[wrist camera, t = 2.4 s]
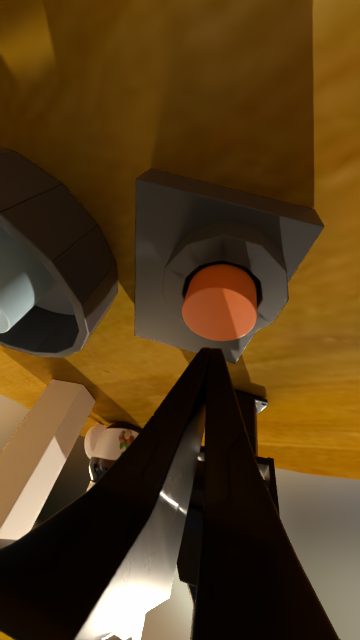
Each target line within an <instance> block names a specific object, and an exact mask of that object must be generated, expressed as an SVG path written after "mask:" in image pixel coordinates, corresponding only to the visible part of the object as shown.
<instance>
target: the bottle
mask: <svg viewBox="0 0 360 640" xmlns="http://www.w3.org/2000/svg"><path fill="white" fill-rule="evenodd" d="M56 284H57V282H56V281H55V279H54V278H53V277H52V275H51V274H50V272H49V271H48V270H47V268H46V267H45V265H44V264H42V263H41V262H40V261H39V260H38V259H37V258H36V257H35V256H33V255H32V254H31V253H30V252H29V251H28V250H27V249H26V248H25V247H23V246H22V245H21V244H20V243H19V242H18V241H17V240H16V239H14V238H13V237H12V236H11V235H10V234H9V233H8V232H7V231H6V230H4V229H3V228H2V227H1V226H0V333H4V332H7V331H8V330H9V329H10V328H11V327H12V326H13V325H14V324H16V323H17V322H18V321H19V320H20V319H21V318H22V317H23V316H24V315H25V314H26V313H27V312H28V311H29V310H30V309H31V308H32V307H33V306H34V305H35V304H36V303H37V302H39V301H40V300H41V299H42V298H43V297H44V296H45V295H46V294H47V293H48V292H49V291H50V290H51V289H52V288H53V287H54V286H55V285H56Z"/></svg>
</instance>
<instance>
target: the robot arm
mask: <svg viewBox="0 0 360 640" xmlns="http://www.w3.org/2000/svg"><path fill="white" fill-rule="evenodd" d="M266 406H268V400H266V399H263V398H260V397H256V396H253V395H249V394H246V393H242V392H239V391H235V390H234V387H233V384H232V381H231V377H230V374H229V371H228V367H227V364H226V361H225V357H224V354H223V351H222V349H221V348H212V349H211V348H210V347H202V348H201V349H200V350H199V352H198V353H197V354H196V356H195V357H194V359H193V360H192V361H191V363H190V364H189V366H188V367H187V368H186V370H185V371H184V372H183V374H182V375H181V377H180V378H179V379H178V381H177V382H176V384H175V385H174V386H173V388H172V389H171V390H170V392H169V393H168V395H167V396H166V397H165V399H164V400H163V402H162V403H161V404H160V406H159V407H158V408H157V410H156V411H155V413H154V416H152V417H151V418H150V419H149V421H148V422H147V424H146V425H145V426H144V428H143V429H142V430H141V432H140V433H139V434H138V435H137V437H136V438H135V439H134V440H133V441H132V443H131V444H130V445H129V446H128V447H127V448H126V450H125V451H124V452H123V453H122V454H121V455H120V456H119V458H118V459H117V460H116V461H115V462H114V463H113V464H112V465H111V467H110V468H109V469H108V470H107V471H106V472H105V473H104V474H103V476H102V477H101V478H100V479H99V480H98V481H97V482H96V483H95V484H94V485H93V486H92V487H91V488H90V489H89V490H88V491H87V492H85V493H84V494H83V495H82V496H80V497H79V498H77V499H76V500H75V501H73V502H72V503H70V504H69V505H68V506H66V507H64V508H63V509H62V510H60V511H59V512H57V513H56V514H54V515H53V516H52V517H50V518H49V519H47V520H46V521H44V522H43V523H41V524H40V525H39V526H37V527H36V528H34V529H33V530H31V531H30V532H28V533H27V534H25V535H24V536H22V537H21V538H20V539H18V540H11V539H0V640H140V639H141V634H142V629H143V625H144V620H145V615H146V612H147V611H149V610H150V609H152V608H154V607H155V606H157V605H158V604H160V603H162V602H163V601H165V600H166V599H168V598H169V596H170V592H171V587H172V583H173V578H174V572H175V568H176V563H177V568H178V573H179V579H180V581H182V582H185V583H187V586H188V589H189V593H190V596H191V600H192V603H193V615H192V626H191V637H190V640H341V639H339V638H338V636H337V634H336V632H335V630H334V628H333V626H332V624H331V622H330V620H329V618H328V616H327V614H326V612H325V610H324V608H323V607H322V605H321V603H320V601H319V599H318V597H317V595H316V593H315V591H314V589H313V587H312V585H311V583H310V581H309V579H308V578H307V576H306V574H305V572H304V570H303V568H302V566H301V563H300V561H299V560H298V557H297V555H296V553H295V551H294V549H293V547H292V545H291V543H290V540H289V538H288V536H287V533H286V531H285V529H284V527H283V524H282V522H281V520H280V516H279V504H278V496H277V486H276V477H275V468H274V459H273V458H269V457H268V458H263V457H258V441H257V414H258V413H259V412H261V411H262V410H263V409H264V408H265V407H266ZM204 428H205V446H201V442H202V438H203V433H204ZM262 476H265V480H264V479H263V477H262Z"/></svg>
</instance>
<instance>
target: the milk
mask: <svg viewBox="0 0 360 640" xmlns="http://www.w3.org/2000/svg"><path fill="white" fill-rule="evenodd" d="M95 402H96V401H95V400H94V398H93V397H92V396H91V394H90V393H89V392H88V390H87V389H86V388H85V386H84V385H82V384H76V383H71V382H65V381H60V380H55V379H52V380H51V381H50V383H49V384H48V386H47V387H46V389H45V390H44V391H43V393H42V394H41V396H40V397H39V398H38V400H37V401H36V403H35V404H34V406H33V407H32V408H31V410H30V411H29V413H28V414H27V416H26V417H25V418H24V420H23V421H22V423H21V424H20V425H19V427H18V428H17V430H16V431H15V433H14V434H13V436H12V437H11V438H10V440H9V441H8V442H7V444H6V445H5V447H4V448H3V450H2V451H1V452H0V539H11V540H18V539H20V538H21V537H22V536H24V535H25V534H27V533H28V532H30V530H31V528H32V526H33V524H34V522H35V520H36V518H37V516H38V514H39V512H40V510H41V508H42V506H43V504H44V503H45V501H46V498H47V497H48V495H49V493H50V491H51V489H52V487H53V485H54V483H55V481H56V479H57V477H58V475H59V473H60V471H61V469H62V467H63V465H64V463H65V461H66V459H67V457H68V455H69V453H70V451H71V449H72V447H73V445H74V443H75V441H76V440H77V438H78V436H79V434H80V432H81V430H82V428H83V426H84V424H85V422H86V420H87V418H88V416H89V414H90V412H91V410H92V408H93V406H94V404H95Z"/></svg>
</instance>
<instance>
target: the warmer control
mask: <svg viewBox="0 0 360 640" xmlns="http://www.w3.org/2000/svg"><path fill="white" fill-rule="evenodd" d="M323 228H324V225H323V223H322V221H321V220H320V218H319V216H318V214H317V213H316V211H315V210H314V209H310V208H306V207H302V206H298V205H294V204H290V203H286V202H282V201H278V200H274V199H270V198H266V197H262V196H258V195H254V194H250V193H246V192H242V191H238V190H234V189H230V188H226V187H222V186H218V185H214V184H210V183H206V182H202V181H198V180H194V179H190V178H186V177H182V176H178V175H174V174H170V173H166V172H162V171H158V170H154V169H149V170H148V171H146V172H145V173H143V174H142V175H140V176H139V177H137V178H136V216H135V336H138V337H141V338H145V339H148V340H152V341H155V342H159V343H163V344H166V345H170V346H173V347H177V348H180V349H184V350H187V351H191V352H195V353H198V352H199V350H200V349H201V348H202V347H210V348H211V349H212V348H221V349H222V351H223V354H224V357H225V361H226V362H230V363H234V364H235V363H236V361H237V360H238V358H239V357H240V355H241V354H242V352H243V351H244V349H245V348H246V346H247V345H248V343H249V342H250V340H251V338H252V337H253V335H254V334H255V332H256V331H257V330H259V329H261V328H264V327H266V326H268V325H270V324H272V322H273V321H274V320H275V318H276V317H277V316H278V314H279V313H280V311H281V310H282V308H283V307H284V306H285V304H286V303H287V301H288V299H289V297H288V282H289V280H290V279H291V277H292V276H293V274H294V272H295V271H296V269H297V268H298V266H299V265H300V263H301V262H302V260H303V259H304V257H305V256H306V254H307V253H308V251H309V249H310V248H311V246H312V245H313V243H314V242H315V240H316V239H317V237H318V236H319V234H320V233H321V231H322V230H323ZM215 264H228V265H233V266H236V267H238V268H240V269H242V270H243V271H245V272H246V273H247V274H248V275H249V276H250V277H251V278H252V280H253V281H254V283H255V286H256V298H257V320H256V323H255V325H254V327H253V328H252V329H251V330H250V331H249V332H248V333H247V334H246V335H244V336H242V337H240V338H237V339H234V340H228V341H216V340H211V339H207V338H204V337H202V336H200V335H198V334H196V333H195V332H193V331H192V330H191V329H190V328H189V327H188V326H187V324H186V323H185V321H184V319H183V315H182V306H183V303H184V300H185V297H186V294H187V291H188V288H189V284H190V282H191V280H192V278H193V277H194V275H195V274H196V273H197V272H199V271H200V270H201V269H203V268H205V267H207V266H211V265H215Z"/></svg>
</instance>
